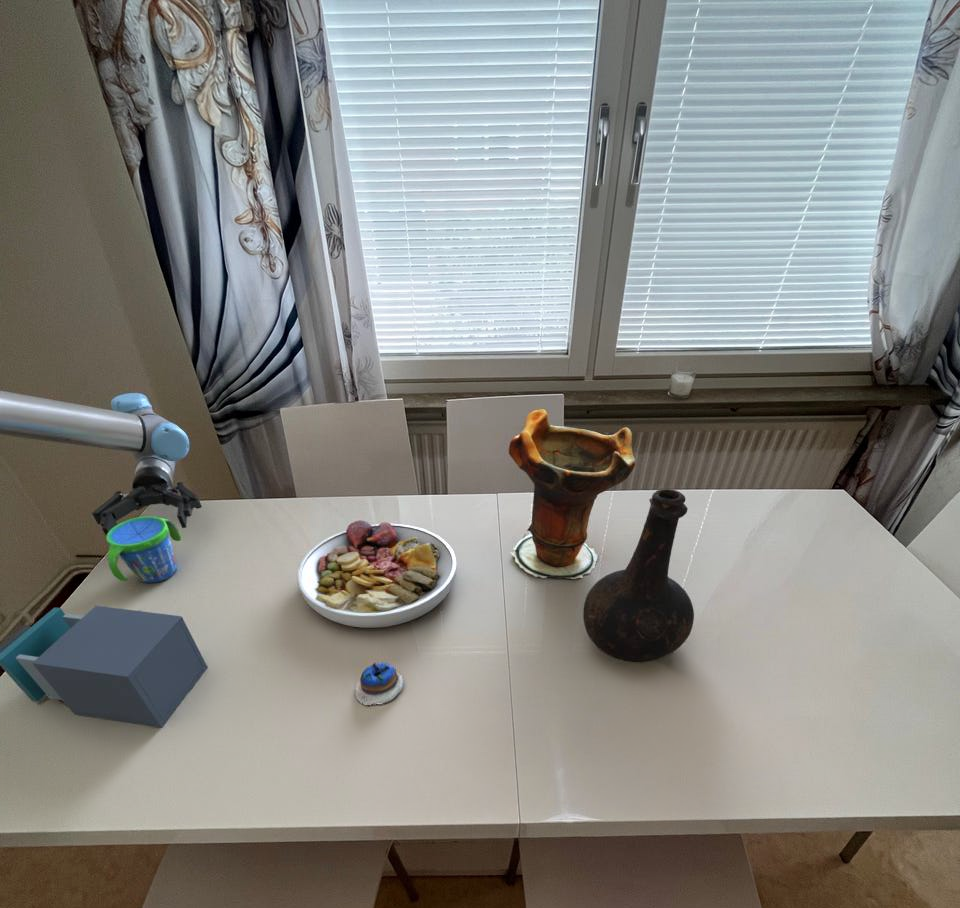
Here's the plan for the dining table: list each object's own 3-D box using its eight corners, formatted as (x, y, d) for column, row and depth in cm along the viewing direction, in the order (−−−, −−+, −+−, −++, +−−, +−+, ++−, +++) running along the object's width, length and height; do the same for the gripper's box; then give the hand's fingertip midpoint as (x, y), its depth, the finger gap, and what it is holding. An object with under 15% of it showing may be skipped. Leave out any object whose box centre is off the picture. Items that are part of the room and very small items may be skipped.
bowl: (483, 606, 100) (483, 572, 95) (327, 657, 90) (317, 623, 85) (422, 530, 120) (419, 499, 114) (287, 566, 110) (277, 533, 104)
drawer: (-3, 695, 83) (-44, 653, 77) (52, 645, 91) (20, 602, 85) (110, 713, 81) (77, 670, 74) (156, 659, 89) (131, 617, 82)
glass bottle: (582, 676, 87) (610, 527, 68) (575, 607, 100) (597, 465, 81) (692, 682, 86) (753, 532, 67) (671, 611, 99) (717, 468, 80)
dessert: (390, 659, 89) (393, 652, 83) (407, 694, 88) (412, 689, 83) (345, 679, 86) (346, 673, 81) (363, 716, 86) (364, 712, 80)
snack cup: (145, 602, 101) (120, 557, 94) (106, 588, 105) (80, 544, 98) (206, 559, 112) (188, 516, 105) (170, 548, 115) (150, 505, 108)
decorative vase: (618, 591, 104) (649, 451, 84) (500, 583, 106) (504, 445, 86) (611, 533, 119) (636, 404, 100) (508, 527, 121) (513, 399, 101)
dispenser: (74, 714, 82) (31, 663, 74) (128, 656, 91) (95, 605, 83) (161, 728, 80) (127, 676, 72) (208, 667, 89) (182, 616, 81)
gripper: (217, 488, 127) (217, 532, 112) (100, 506, 121) (85, 556, 106) (205, 457, 122) (204, 500, 107) (83, 475, 116) (64, 523, 101)
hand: (145, 528), depth 107 cm, fingers open, 13 cm apart
